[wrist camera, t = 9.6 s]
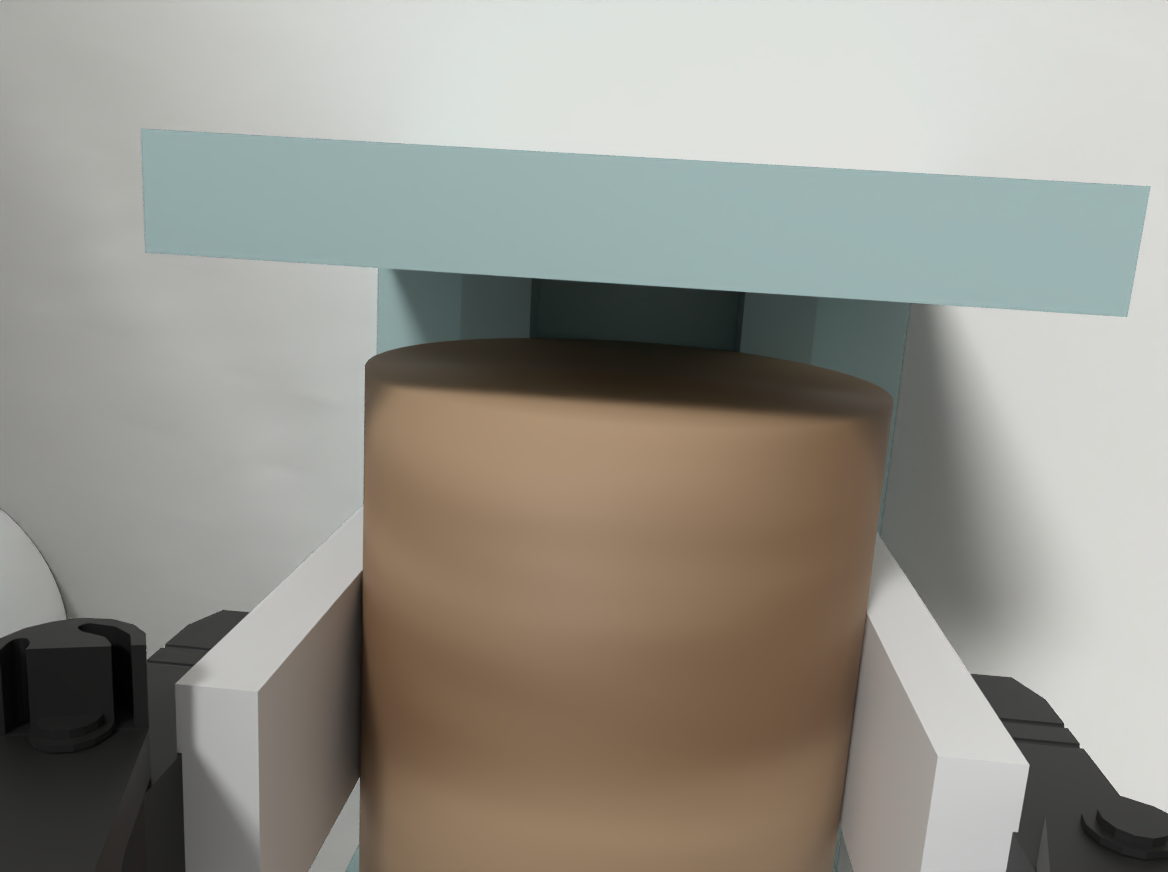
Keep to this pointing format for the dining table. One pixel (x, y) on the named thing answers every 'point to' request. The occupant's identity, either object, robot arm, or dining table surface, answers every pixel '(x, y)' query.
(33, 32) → the dining table surface
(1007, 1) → the dining table surface
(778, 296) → the cradle
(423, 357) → the roll
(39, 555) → the figurine
